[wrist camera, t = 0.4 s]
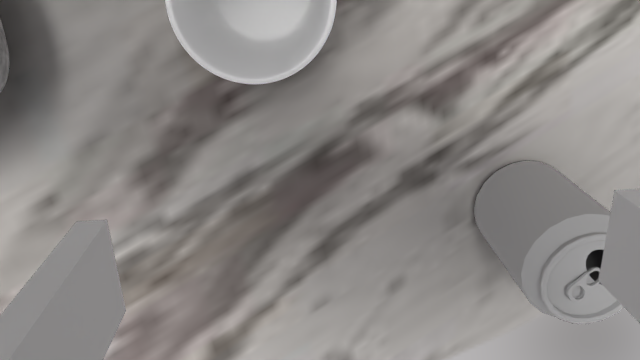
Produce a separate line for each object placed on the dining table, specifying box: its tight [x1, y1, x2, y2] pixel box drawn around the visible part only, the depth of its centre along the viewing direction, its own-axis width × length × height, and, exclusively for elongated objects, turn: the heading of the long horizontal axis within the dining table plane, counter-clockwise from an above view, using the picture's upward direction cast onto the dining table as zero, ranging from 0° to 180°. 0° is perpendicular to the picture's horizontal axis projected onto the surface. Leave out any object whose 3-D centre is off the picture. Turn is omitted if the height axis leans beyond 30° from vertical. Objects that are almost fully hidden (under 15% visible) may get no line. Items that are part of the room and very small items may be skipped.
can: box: [474, 161, 624, 324], centre depth 38 cm, size 8×8×12 cm
